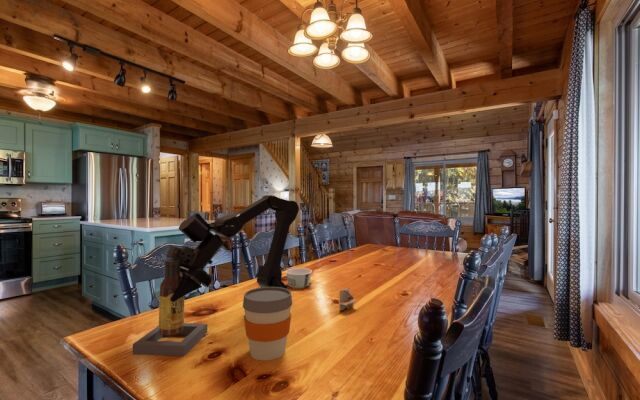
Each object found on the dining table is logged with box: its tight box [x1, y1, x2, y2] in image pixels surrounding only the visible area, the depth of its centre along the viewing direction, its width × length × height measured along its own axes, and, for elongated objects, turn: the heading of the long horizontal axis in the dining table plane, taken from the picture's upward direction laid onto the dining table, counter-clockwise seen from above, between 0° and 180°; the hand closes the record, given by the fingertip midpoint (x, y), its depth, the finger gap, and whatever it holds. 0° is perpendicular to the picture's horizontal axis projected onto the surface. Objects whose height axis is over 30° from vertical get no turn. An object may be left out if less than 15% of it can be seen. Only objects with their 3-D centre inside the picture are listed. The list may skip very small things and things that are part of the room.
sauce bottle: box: [158, 258, 185, 337], centre depth 85 cm, size 7×6×20 cm
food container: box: [284, 267, 313, 289], centre depth 140 cm, size 12×12×6 cm
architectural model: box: [337, 287, 357, 312], centre depth 110 cm, size 3×7×7 cm, turn 139°
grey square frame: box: [132, 322, 208, 357], centre depth 85 cm, size 14×14×2 cm
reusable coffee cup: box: [242, 287, 293, 362], centre depth 80 cm, size 13×12×15 cm
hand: (166, 298), depth 84 cm, fingers closed on sauce bottle, 6 cm apart
